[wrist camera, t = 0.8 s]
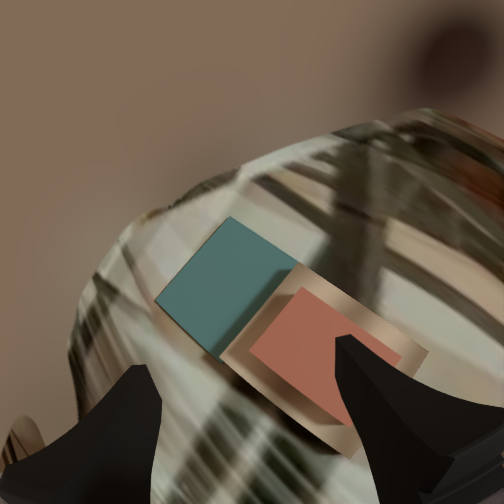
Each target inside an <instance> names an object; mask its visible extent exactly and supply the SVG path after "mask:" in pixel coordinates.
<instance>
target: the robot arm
mask: <svg viewBox="0 0 504 504" xmlns="http://www.w3.org/2000/svg"><path fill="white" fill-rule="evenodd" d="M335 379H336V382H337V386H338V389H339V392H340V395H341V398H342V400H343V403H344V405H345V407H346V409H347V411H348V414H349V416H350V418H351V420H352V422H353V424H354V426H355V429H356V431H357V433H358V435H359V437H360V439H361V442H362V444H363V447H364V449H365V452H366V456H367V459H368V462H369V465H370V469H371V472H372V476H373V479H374V483H375V486H376V490H377V495H378V499H379V503H380V504H504V468H503V467H502V464H503V463H504V458H503V457H502V455H501V453H502V452H503V451H504V408H502V407H495V406H489V405H483V404H478V403H474V402H470V401H466V400H463V399H459V398H456V397H453V396H450V395H448V394H445V393H442V392H440V391H437V390H435V389H433V388H430V387H428V386H426V385H424V384H422V383H420V382H418V381H416V380H414V379H413V378H411V377H409V376H407V375H406V374H404V373H403V372H401V371H399V370H398V369H396V368H395V367H393V366H392V365H390V364H389V363H388V362H386V361H385V360H383V359H382V358H381V357H379V356H378V355H377V354H375V353H374V352H373V351H371V350H370V349H369V348H368V347H366V346H365V345H364V344H363V343H361V342H360V341H359V340H358V339H356V338H355V337H354V336H353V335H351V334H348V335H343V336H339V337H335ZM161 413H162V399H161V397H160V395H159V393H158V391H157V388H156V386H155V384H154V382H153V380H152V377H151V375H150V373H149V371H148V368H147V366H146V364H145V365H132V366H131V367H130V368H129V369H128V370H127V371H126V372H125V373H124V374H123V376H122V377H121V378H120V379H119V380H118V381H117V382H116V384H115V385H114V386H113V387H112V388H111V389H110V391H109V392H108V393H107V394H106V395H105V396H104V397H103V399H102V400H101V401H100V402H99V403H98V404H97V405H96V406H95V407H94V408H93V409H92V410H91V411H90V412H89V413H88V414H87V415H86V416H85V417H84V418H83V419H82V420H81V421H80V422H79V423H78V424H76V425H75V426H74V427H73V428H72V429H70V430H69V431H68V432H67V433H65V434H64V435H63V436H61V437H60V438H59V439H57V440H56V441H54V442H53V443H51V444H50V445H48V446H47V447H45V448H43V449H42V450H40V451H38V452H36V453H34V454H33V455H31V456H29V457H27V458H24V459H22V460H20V461H17V462H15V463H13V464H10V465H7V466H6V467H5V469H4V471H3V474H2V476H1V478H0V497H1V498H2V499H3V500H4V501H6V502H7V503H8V504H150V491H151V473H152V466H153V461H154V455H155V450H156V445H157V440H158V435H159V429H160V424H161Z"/></svg>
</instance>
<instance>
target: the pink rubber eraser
mask: <svg viewBox="0 0 504 504" xmlns="http://www.w3.org/2000/svg"><path fill="white" fill-rule="evenodd" d="M348 334H351V335H353V336H354V337H355V338H356V339H358V340H359V341H360V342H361V343H363V344H364V345H365V346H366V347H368V348H369V349H370V350H371V351H373V352H374V353H375V354H377V355H378V356H379V357H381V358H382V359H383V360H385V361H386V362H388V363H389V364H390V365H392V366H393V367H396V365H397V364H398V362H399V361H400V359H401V358H402V356H400V355H399V354H398V353H396V352H395V351H393V350H392V349H390V348H389V347H388V346H386V345H385V344H383V343H382V342H380V341H379V340H378V339H376V338H375V337H373V336H372V335H371V334H369V333H368V332H366V331H365V330H363V329H362V328H361V327H359V326H358V325H356V324H355V323H353V322H352V321H351V320H349V319H348V318H346V317H345V316H344V315H342V314H341V313H339V312H338V311H336V310H335V309H334V308H332V307H331V306H329V305H328V304H326V303H325V302H324V301H322V300H321V299H319V298H318V297H316V296H315V295H314V294H312V293H311V292H309V291H308V290H307V289H305V288H304V287H302V286H301V288H300V289H299V290H298V291H297V293H296V294H295V295H294V296H293V298H292V299H291V300H290V301H289V303H288V304H287V305H286V306H285V308H284V309H283V310H282V311H281V312H280V314H279V315H278V316H277V317H276V319H275V320H274V321H273V322H272V323H271V325H270V326H269V327H268V328H267V329H266V331H265V332H264V333H263V334H262V335H261V337H260V338H259V339H258V340H257V341H256V343H255V344H254V345H253V346H252V347H251V348H250V350H249V351H250V352H251V353H252V354H253V355H255V356H256V357H257V358H258V359H259V360H261V361H262V362H263V363H264V364H266V365H267V366H268V367H269V368H271V369H272V370H273V371H274V372H276V373H277V374H278V375H279V376H281V377H282V378H283V379H284V380H286V381H287V382H288V383H290V384H291V385H292V386H293V387H295V388H296V389H297V390H299V391H300V392H301V393H302V394H304V395H305V396H306V397H308V398H309V399H310V400H312V401H313V402H314V403H316V404H317V405H318V406H320V407H321V408H322V409H324V410H325V411H327V412H328V413H329V414H331V415H332V416H333V417H335V418H336V419H338V420H339V421H340V422H342V423H343V424H345V425H346V426H347V427H349V428H350V427H351V426H352V424H353V422H352V420H351V418H350V416H349V414H348V411H347V409H346V407H345V405H344V403H343V400H342V398H341V395H340V392H339V389H338V386H337V382H336V379H335V337H339V336H343V335H348Z"/></svg>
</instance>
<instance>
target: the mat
mask: <svg viewBox="0 0 504 504" xmlns="http://www.w3.org/2000/svg"><path fill="white" fill-rule="evenodd" d="M297 263H298V261H297V260H295V259H294V258H292V257H291V256H289V255H288V254H286V253H285V252H283V251H282V250H280V249H279V248H277V247H276V246H274V245H273V244H271V243H270V242H268V241H267V240H265V239H264V238H262V237H261V236H259V235H258V234H256V233H255V232H253V231H252V230H250V229H249V228H247V227H246V226H244V225H243V224H241V223H240V222H238V221H237V220H235V219H233V218H232V217H229V218H228V219H227V220H226V221H225V222H224V223H223V224H222V225H221V226H220V228H219V229H218V230H217V231H216V232H215V233H214V234H213V235H212V236H211V237H210V239H209V240H208V241H207V242H206V243H205V244H204V245H203V246H202V247H201V249H200V250H199V251H198V252H197V253H196V254H195V255H194V256H193V258H192V259H191V260H190V261H189V262H188V263H187V264H186V266H185V267H184V268H183V269H182V270H181V271H180V272H179V273H178V275H177V276H176V277H175V278H174V279H173V280H172V282H171V283H170V284H169V285H168V286H167V287H166V288H165V290H164V291H163V292H162V293H161V294H160V295H159V297H158V298H157V299H156V302H157V303H158V304H159V305H160V306H161V307H162V308H163V309H164V310H165V311H166V312H167V313H168V314H169V315H170V316H171V317H172V318H173V319H174V320H175V321H176V322H177V323H178V324H179V325H180V326H182V327H183V328H184V329H185V330H186V331H187V332H188V333H189V334H190V335H191V336H192V337H193V338H194V339H195V340H196V341H197V342H198V343H199V344H200V345H201V346H203V347H204V348H205V349H206V350H207V351H208V352H209V353H210V354H211V355H212V356H213V357H215V358H216V359H217V360H218V361H219V362H220V363H221V364H223V363H224V361H223V360H222V359H221V358H220V357H219V356H220V355H221V354H222V353H223V352H224V351H225V349H226V348H227V347H228V346H229V345H230V344H231V342H232V341H233V340H234V339H235V338H236V337H237V335H238V334H239V333H240V332H241V331H242V330H243V328H244V327H245V326H246V325H247V324H248V323H249V321H250V320H251V319H252V318H253V317H254V315H255V314H256V313H257V312H258V311H259V309H260V308H261V307H262V306H263V305H264V303H265V302H266V301H267V300H268V299H269V297H270V296H271V295H272V294H273V293H274V291H275V290H276V289H277V288H278V286H279V285H280V284H281V283H282V282H283V280H284V279H285V278H286V277H287V275H288V274H289V273H290V272H291V271H292V269H293V268H294V267H295V266H296V264H297Z"/></svg>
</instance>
